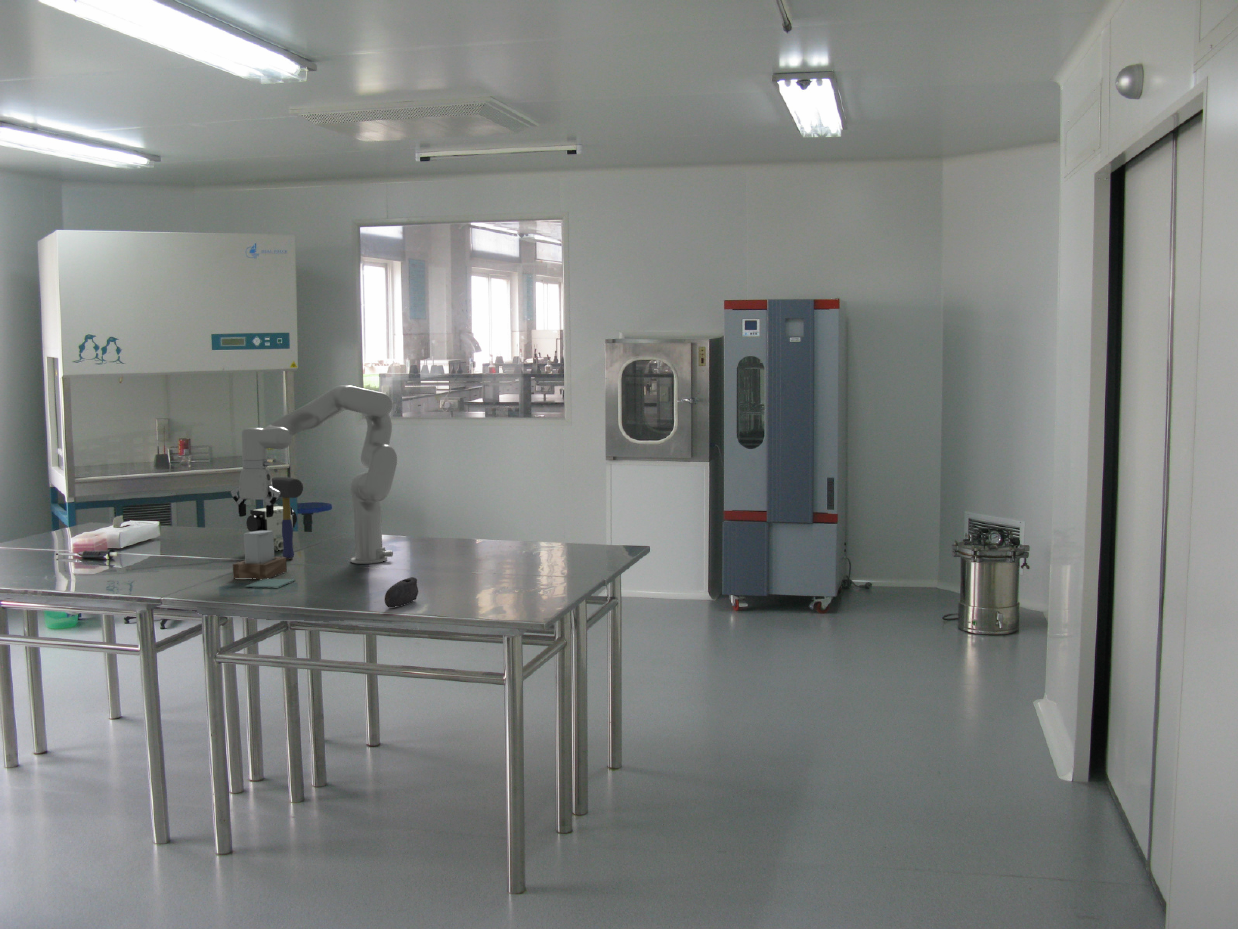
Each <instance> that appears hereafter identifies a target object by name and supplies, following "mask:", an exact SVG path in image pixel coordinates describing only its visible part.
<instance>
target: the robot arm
mask: <svg viewBox="0 0 1238 929" xmlns="http://www.w3.org/2000/svg"><path fill="white" fill-rule="evenodd" d="M391 398H392V397H390V396H389V395H388V394H386V393H384V392H381V391H376V390H372V389H371V390H370V389H366V388H362V387H357V386H353V385H346V384H345V385H342V384H341V385H337V386H335V387H332V388H330V389H329V390H327V391H326V392H324V393H323V394H321V395H319V396H318V397H316V398H315V399H313V400H311V401H310V402H308V403H306V404H304V405H303V406H300V407H299V408H297V409H295V410H293V411H290V412H289V413H287V414H285V415H283V416H281V417H279V418H278V419H276V420H275V421H273V422H271V423H270V424H267V426H265V427H264V428H263V427H246V428H243V429H242V431H241V448H242V449H241V451H242V452H241V453H242V455H241V456H242V468H241V470H240V474H239V482H238V487H236V488H234V489H232V490H231V491H230V494H231V496H232V499H233V500H234V501H235V502H236V505H238V508H237V509H238V514H239V516H238V517H246V516H247V504H246V503H245V502H246V501H247V500H264V502H265V503H266V504H267V505H266V506H265V508H266V517H272V516H273V514H274V507H275V506H274V505H275V504H276V503H277V501H278V500H279V498H280V497H279V496H280V494H281V492H280V491H278V490H276V489H275V488H273V485H272V475H271V474H272V473H271V470H270V468H268V466H269V467H270V466H271V462H270V461H268V459H267V449H270V450H271V449H273V450H284V449H286V448H288V447H290V445H291V444H292V442H293V436H296V435H297V434H299V433H301V432H305V431H308V430H312V429H316V428H318V427H320V426H323V424H325V423H327V422H328V421H330V420H331V419H333V418H335V417H336V416H338V415H339V414H341V413H343V412H345V411H351V412H354V413H360V414H362V415H363V416H364V418H365V420H366V425H367V428H366V433H365V439H364V442H363V446H362V450H361V454H360V462H361V464H362V466H364V467H365V468H366V469H368V471H367V472H360V473H358V474H356V475H354V477H353V478H352V479H351V482H350V490H349V491H350V495H351V501H352V508H353V509H352V510H353V533H354V556H353V557H351V558H350V562H351V563H352V564H357V565H358V564H359V565H360V564H361V565H370V564H377V563H382V562H383V561H384V562H386V561H387V560H388V557H389V558H390V557H391V558H392V557H393V556H394V552H393V550H386V547H384V546H383V532H382V530H383V528H382V525H383V524H382V507H381V501H383V500H385V499H386V498H387V497H388V496H389V494H390V493H391V492H390V491H391V489H392V485H393V482H394V477H395V474H396V469H397V464H398V456H397V452H396V450H395V449H394V447H392V446H391V445H390V442H391V437H392V431H393V429H392V428H393V423H392V420H391V417H390V414H391V412H392V410H393V405H394V404H393V400H392V399H391ZM273 493H274V496H273ZM384 562H383V563H384Z"/></svg>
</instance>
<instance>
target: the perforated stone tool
mask: <svg viewBox="0 0 1238 929" xmlns="http://www.w3.org/2000/svg"><path fill="white" fill-rule="evenodd" d="M417 583H418V579H417V578H416V577H413V576H412V577H408V578H405V579H402V580H399V581H398V582H396V583H394V584H392V586H390V587H389V588H388V589H387V590H386V592H385V594H384V603H385V606H386V607H387V608H389V607H395V606H399V607H402V606H401V605H403V606H405V605H404V604H406V605H408V604H407V603H409V602H410V603H412V602H414V601H416V600H417V597H418V594H419V587H418V584H417ZM413 600H414V601H413ZM410 603H409V604H410Z"/></svg>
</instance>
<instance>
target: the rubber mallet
mask: <svg viewBox="0 0 1238 929" xmlns="http://www.w3.org/2000/svg"><path fill="white" fill-rule="evenodd" d="M271 478H272V477H271ZM272 485H273V488H275V489H276V490H278V491H280V492H281V494H280V496H279V497H278V498H282V499H281V500H282V506H283V521H282V534H281V536H282V537H281V538H283V549H282V550H283V551H282V557H286V561H289V559H291V560H293V558H294V557H295V552H294V544H293V543H294V540H293V537H294V528H293V527H292V521H291V515H290V507H291V502H290V501H291V499H294V498H298V497H300V496H301V495H302V494H303V491H304V486H303V483H302V481H301V480H300V479H298V478H294V477H287V476H277V477H276V476H275V477H273V478H272ZM273 497H274V493H273Z"/></svg>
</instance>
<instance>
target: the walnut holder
mask: <svg viewBox="0 0 1238 929" xmlns="http://www.w3.org/2000/svg"><path fill="white" fill-rule="evenodd" d="M274 558H275V559H274V560H271V561H269V562H266V563H263V564H258V563H245V559H244V560H241V561H239V562H235V563H232V572H233V573H232V575H233V579H234V578H252V579H253V578H256V579H267V578H270V579H272V578H274V577H273V576H275V575H277V576H279V574H280V575H282V574H284V573H283V572H285V573H287V572H288V571H287V570H288V569H287V560H286V557H283V556H274ZM281 573H282V574H281ZM271 577H272V578H271ZM275 577H276V576H275Z"/></svg>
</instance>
